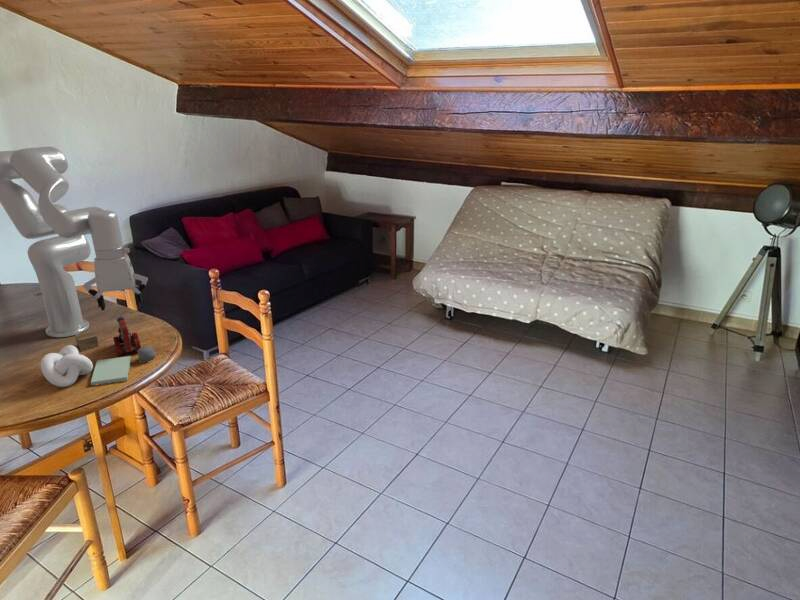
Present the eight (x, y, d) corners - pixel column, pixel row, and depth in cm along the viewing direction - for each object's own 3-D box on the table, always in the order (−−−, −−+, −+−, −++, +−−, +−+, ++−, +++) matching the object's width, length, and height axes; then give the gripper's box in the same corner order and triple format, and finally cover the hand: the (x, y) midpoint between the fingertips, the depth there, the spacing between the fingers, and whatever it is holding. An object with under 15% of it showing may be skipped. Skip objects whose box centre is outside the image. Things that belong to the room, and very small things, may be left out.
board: (98, 363, 153) (97, 360, 153) (131, 359, 157) (130, 355, 156) (91, 385, 142) (90, 382, 142) (127, 380, 145) (126, 377, 145)
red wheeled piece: (137, 339, 169) (132, 310, 165) (142, 355, 159) (137, 325, 155) (114, 343, 166) (108, 314, 162) (117, 360, 156) (111, 329, 152)
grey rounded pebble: (139, 357, 158) (138, 347, 157) (155, 355, 159) (153, 345, 158) (138, 364, 154) (136, 354, 153) (154, 361, 156) (152, 351, 154)
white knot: (39, 377, 145) (32, 349, 142) (86, 364, 153) (80, 337, 150) (49, 394, 138) (41, 365, 135) (98, 379, 146) (92, 351, 142)
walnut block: (77, 345, 164) (75, 334, 162) (95, 341, 167) (92, 330, 165) (81, 351, 160) (78, 340, 159) (98, 347, 163) (96, 336, 162)
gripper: (143, 247, 156) (152, 299, 163) (78, 252, 150) (91, 306, 157) (141, 254, 150) (151, 307, 156) (74, 259, 144) (87, 315, 150)
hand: (121, 306), depth 157 cm, fingers open, 9 cm apart
